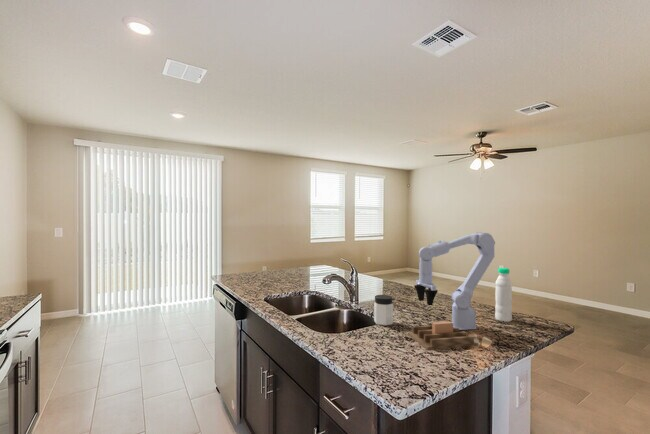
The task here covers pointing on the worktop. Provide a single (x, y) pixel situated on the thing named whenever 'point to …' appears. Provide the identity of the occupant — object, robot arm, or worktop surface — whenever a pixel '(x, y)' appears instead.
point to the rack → (440, 338)
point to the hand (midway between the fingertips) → (425, 302)
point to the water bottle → (503, 296)
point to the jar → (383, 310)
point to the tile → (442, 327)
